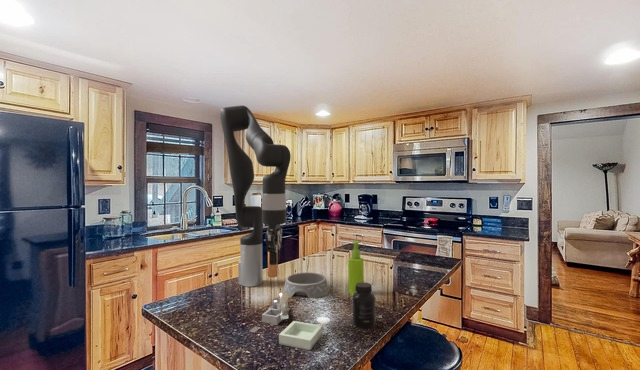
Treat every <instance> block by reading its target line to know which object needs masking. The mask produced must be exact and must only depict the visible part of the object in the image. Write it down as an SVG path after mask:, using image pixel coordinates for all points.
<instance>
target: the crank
mask: <svg viewBox="0 0 640 370" xmlns="http://www.w3.org/2000/svg"><path fill="white" fill-rule="evenodd" d="M288 299H289V296H288V293H287V292H283V291H281V292H279V297H274V298H273V299H272V305H273V308H274V309H278V312H279V315H280V318H281V319H283V320H288V319H289V312H288V306H289V304H288V302H289V301H288Z"/></svg>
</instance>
